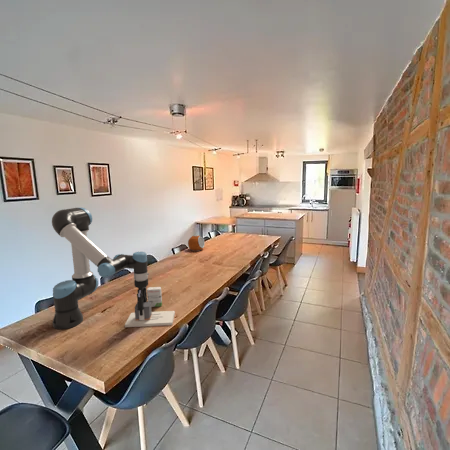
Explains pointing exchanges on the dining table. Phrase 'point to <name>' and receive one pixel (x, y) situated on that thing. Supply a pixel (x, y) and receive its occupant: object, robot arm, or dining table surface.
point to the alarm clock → (196, 243)
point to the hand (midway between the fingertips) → (143, 316)
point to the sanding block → (146, 311)
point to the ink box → (154, 296)
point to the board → (152, 319)
